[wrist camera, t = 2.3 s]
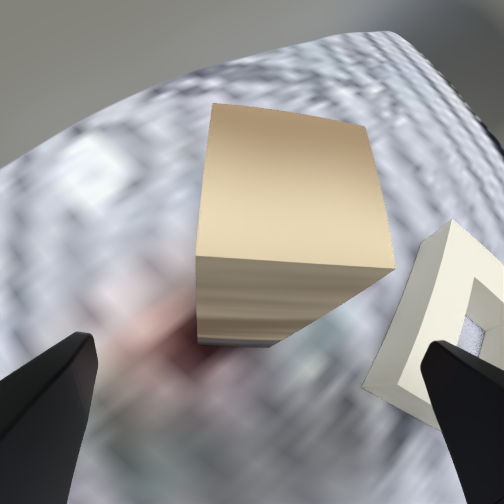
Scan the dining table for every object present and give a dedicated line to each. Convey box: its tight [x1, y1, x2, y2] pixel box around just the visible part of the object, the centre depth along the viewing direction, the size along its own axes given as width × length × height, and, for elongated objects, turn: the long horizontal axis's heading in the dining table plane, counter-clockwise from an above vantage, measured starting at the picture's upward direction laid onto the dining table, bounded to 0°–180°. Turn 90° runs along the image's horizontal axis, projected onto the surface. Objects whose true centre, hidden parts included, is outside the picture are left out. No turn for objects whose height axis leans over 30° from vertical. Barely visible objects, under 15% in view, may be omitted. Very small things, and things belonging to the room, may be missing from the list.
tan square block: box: [196, 103, 396, 348], centre depth 13 cm, size 4×4×13 cm
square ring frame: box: [362, 219, 504, 432], centre depth 18 cm, size 12×12×4 cm
